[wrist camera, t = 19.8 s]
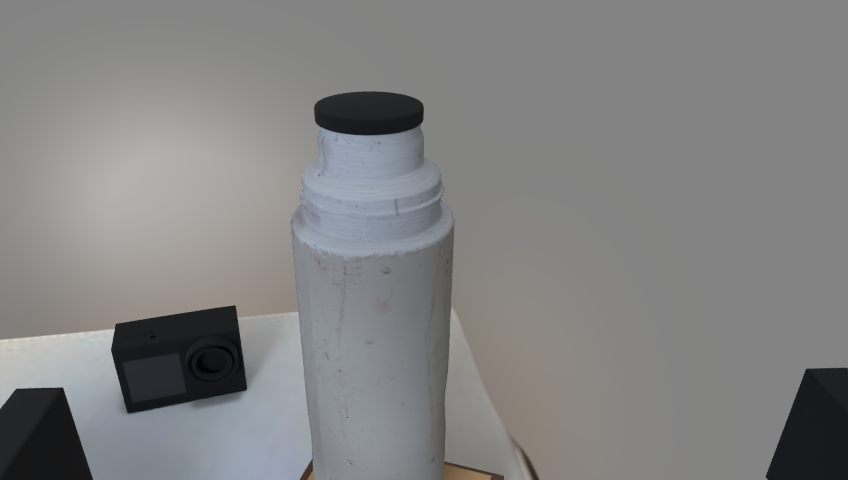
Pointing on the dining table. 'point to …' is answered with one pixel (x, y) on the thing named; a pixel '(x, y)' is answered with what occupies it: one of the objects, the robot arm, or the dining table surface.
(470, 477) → the stand
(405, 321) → the thermos bottle
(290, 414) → the dining table surface
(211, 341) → the digital camera
